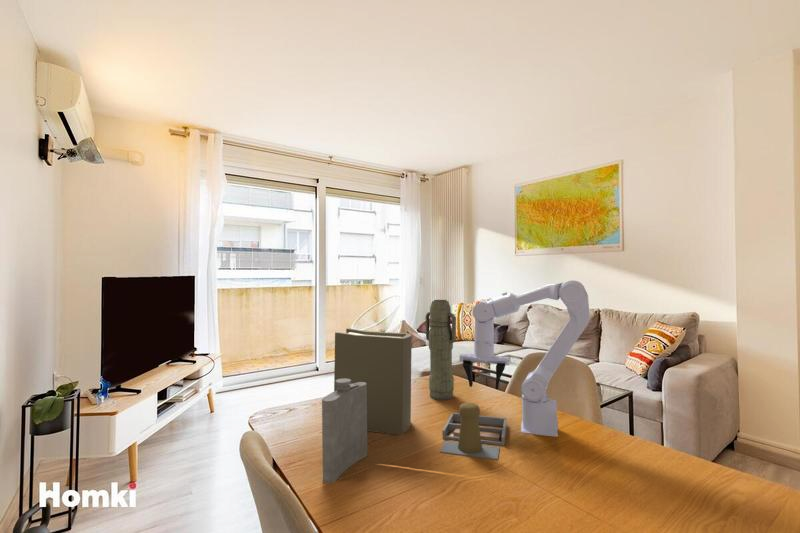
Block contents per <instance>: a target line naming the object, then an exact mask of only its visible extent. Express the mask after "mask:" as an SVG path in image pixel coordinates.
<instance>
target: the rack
mask: <svg viewBox="0 0 800 533" xmlns="http://www.w3.org/2000/svg"><path fill="white" fill-rule="evenodd" d="M507 421H508V420H507V417H497V416H489V415H486V416H485V415H479V417H478V423H479V424H480V425H488V426H480V425H479V430H480V431H483V432H491V433H499V434H500V437H501V438H500V440H501V441H499V442H498V441H489V440H481V443H482V444H485V445H493V446H505V441H506V435H507V434H506V433H507V427H508V424H507V423H508V422H507ZM454 422H459V423H454ZM460 424H461V416H460V414H459V413H458V412H457V413H456V412H451V413H450V415H449V417H448V419H447V421H446V423H445V425H444V427H443V428H442V430H441V432H442V440H443V439H445V440H450V441H452V440H453V441H459V437H455V436H450V435H448V433H449V432H450V433H451V432H454V431H455V429H456V428H460ZM490 426H498V427H499V428H498V427H490ZM500 427H502V428H500Z"/></svg>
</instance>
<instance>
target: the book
mask: <svg viewBox="0 0 800 533" xmlns="http://www.w3.org/2000/svg"><path fill="white" fill-rule="evenodd" d="M345 331H346V332H340V331H335V332H334V370H333V371H334V372H333V373H334V374H333V375H334V376H333V378H334V380H333V392H334V391H336V390H337V389H336V388H337V385H336V380H337V379H344V378H346V379H350V380H351V384H354V383H357V382H365V383H366V384H367V432H374V433H375V432H376V433H383V434H388V435H394V436H398V435H403V434H405V433H407V432H408V431H409V429H410V428H411V426H412V424H411V423H412V422H411V420H412V416H411V415H412V414H411V413H412V406H411V405H412V398H411V397H412V338H413V336H412V335H413V334H412V333H410V332H409V333H407V332H405V333H404V332H389V331H388V332H386V331H384V332H383V331H369V330H368V331H367V330H361V329H356V328H350V327H347V328H345Z"/></svg>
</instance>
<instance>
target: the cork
mask: <svg viewBox="0 0 800 533" xmlns="http://www.w3.org/2000/svg"><path fill="white" fill-rule="evenodd" d="M458 412H459V413H458V414H460V416H461V422H460V423H459V424H460V433H459V440H458V441H457V442H458V449H459V450H460V451H462V452H465V453H478V452H480V451H481V450H482V445H483V443H481V437H480V430H479V426H480V425H479V423H478V417H479V416H480V414H481V409H480V407H479V405H478V404H476V403H475V402H474V403H473V402H463V403H462V404H460V405H459V408H458Z"/></svg>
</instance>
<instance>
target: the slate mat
mask: <svg viewBox="0 0 800 533" xmlns="http://www.w3.org/2000/svg"><path fill="white" fill-rule="evenodd" d="M458 442H459V441H452V440H444V441H443V444H442V445H441V448H440V450H439V453H441V454H449V455H456V456H462V457H463V456H464V457H472V458H478V459H480V458H481V459H485V460H486V459H488V460H494V461H498V460H499V453H500V446H494V445H493V446H491V445H486V444H485V445H483V444H482V450H481V451H480V452H478V453H465V452H462V451H460V450H459V449H458Z"/></svg>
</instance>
